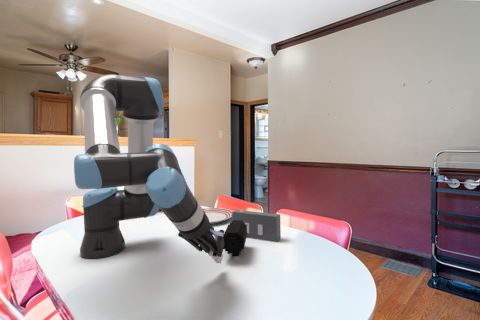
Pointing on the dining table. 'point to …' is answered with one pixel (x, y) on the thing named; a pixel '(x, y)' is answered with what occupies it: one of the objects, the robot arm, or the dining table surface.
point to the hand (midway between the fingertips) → (219, 258)
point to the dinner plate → (217, 214)
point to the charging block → (260, 224)
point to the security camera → (235, 237)
